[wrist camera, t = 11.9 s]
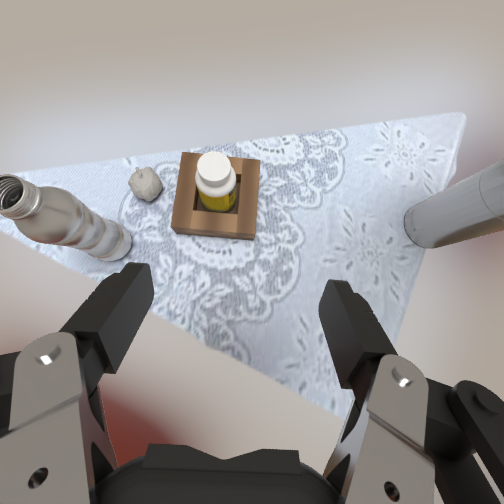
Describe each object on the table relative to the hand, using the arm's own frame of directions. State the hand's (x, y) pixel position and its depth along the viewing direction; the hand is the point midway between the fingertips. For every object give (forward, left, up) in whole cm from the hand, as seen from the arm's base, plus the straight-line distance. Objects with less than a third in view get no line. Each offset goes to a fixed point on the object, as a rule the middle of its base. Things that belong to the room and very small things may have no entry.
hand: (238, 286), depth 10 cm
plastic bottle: (+22, -7, -30) cm, 38 cm away
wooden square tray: (+5, -17, -30) cm, 35 cm away
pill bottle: (+5, -17, -29) cm, 34 cm away
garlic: (+18, -18, -30) cm, 40 cm away
